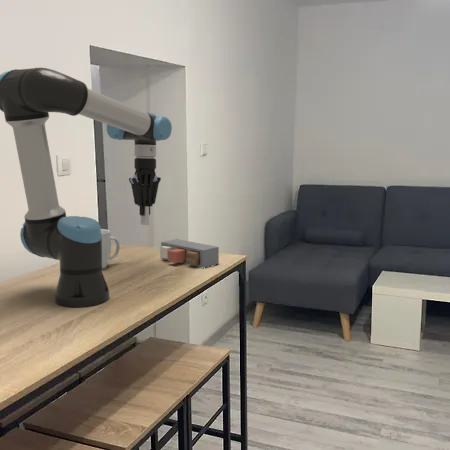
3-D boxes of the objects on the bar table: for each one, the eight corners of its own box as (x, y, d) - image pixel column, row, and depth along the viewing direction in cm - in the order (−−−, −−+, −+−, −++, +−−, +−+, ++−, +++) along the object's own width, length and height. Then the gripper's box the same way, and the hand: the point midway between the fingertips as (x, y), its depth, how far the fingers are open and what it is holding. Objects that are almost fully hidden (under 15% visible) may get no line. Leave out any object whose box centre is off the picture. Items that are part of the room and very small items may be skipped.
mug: (112, 261, 206) (111, 226, 204) (127, 266, 198) (126, 230, 196) (74, 267, 197) (73, 230, 195) (88, 273, 189) (87, 235, 186)
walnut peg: (194, 265, 195) (194, 253, 195) (186, 263, 198) (186, 252, 197) (211, 260, 202) (211, 249, 201) (203, 259, 205) (203, 248, 204)
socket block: (203, 268, 196) (203, 250, 195) (161, 258, 211) (161, 241, 209) (218, 264, 202) (218, 246, 201) (176, 255, 216) (176, 238, 215)
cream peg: (167, 258, 205) (167, 248, 204) (160, 257, 207) (159, 246, 207) (184, 254, 211) (184, 244, 211) (177, 253, 214) (177, 243, 213)
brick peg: (175, 263, 198) (175, 252, 198) (168, 261, 201) (168, 250, 200) (193, 258, 205) (193, 248, 204) (185, 257, 208) (185, 246, 207)
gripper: (137, 157, 186) (137, 227, 190) (166, 158, 196) (165, 224, 199) (123, 157, 191) (123, 224, 195) (152, 157, 201) (151, 221, 204)
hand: (144, 224), depth 197 cm, fingers closed
